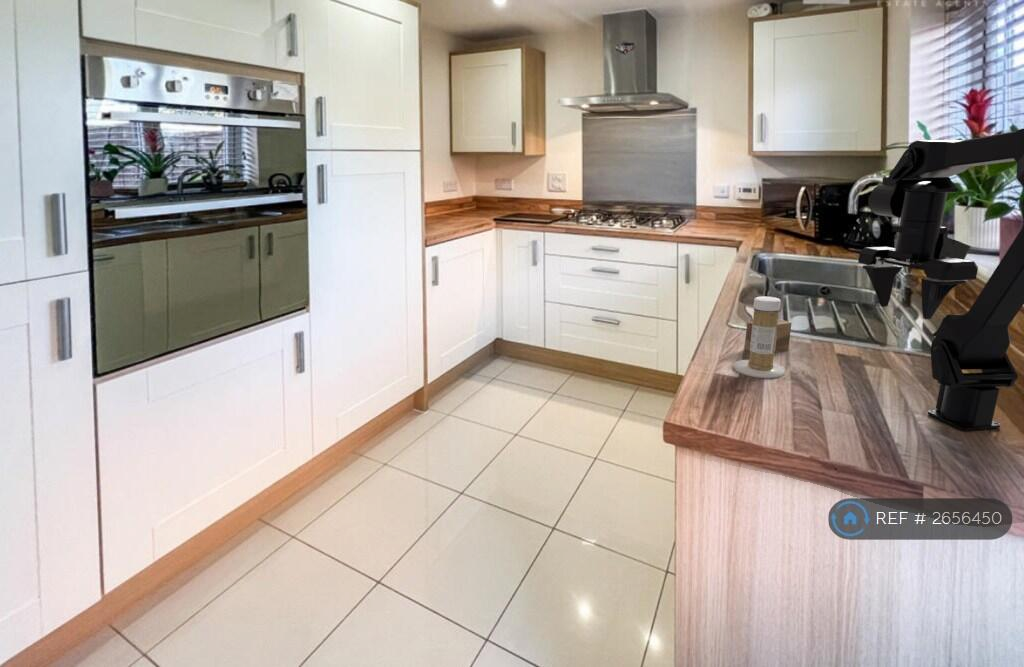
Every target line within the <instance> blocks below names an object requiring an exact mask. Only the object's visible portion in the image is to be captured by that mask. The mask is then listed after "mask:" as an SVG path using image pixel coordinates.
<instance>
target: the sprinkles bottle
mask: <svg viewBox="0 0 1024 667" xmlns="http://www.w3.org/2000/svg"><path fill="white" fill-rule="evenodd" d="M781 304H782V301H781V299H780V298H778V297H774V296H763V295H762V296H756V297H755V298H754V299H753V315H752V316H753V318H752V319H753V320H752V322H753V323H752V333H751V342H750V351H749V357H748V360H749V362H748V366H749V367H751V368H753V369H756V370H770V369H773V363H774V359H775V353H776V352H775V346H776V333H777V323H778V319H779V312H780V310H781Z"/></svg>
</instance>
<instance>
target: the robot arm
mask: <svg viewBox="0 0 1024 667" xmlns="http://www.w3.org/2000/svg"><path fill="white" fill-rule="evenodd" d="M1009 162H1016V180H1017V182H1019V184H1020V185H1021V186H1022V188H1023V189H1024V127H1023V128H1020V129H1018V130H1012V131H1007V132H1002V133H1001V132H1000V133H996V134H990V135H986V136H979V137H974V138H969V139H963V140H958V139H950V140H949V139H943V140H942V139H940V140H939V139H937V140H935V139H933V140H932V139H931V140H930V139H929V140H927V139H926V140H923V139H921V140H914V141H912V142H911V143H910V144H909V145H908V148H906V150H904V152H903V153H902V155H901V157H900V159H899V160H898V161H897V163H896V165H895V166H894V167H893V169H892V170H891V171H890V172H889V173H888V174H889V175H888V176H883V177H882V181H881V183H880V184H878V185H876V186H875V187H874V189H873V190H872V192H871V193H870V195H868V201H867V203H868V204H867V205H868V208H869V209H870V211H871V212H872V213H873V214H875V215H878V216H882V217H884V216H885V217H892V218H900V220H899V225H893V226H892V230H891V231H892V233H897V236H896V237H897V238H896V244H895V247H889V246H871V247H869V246H868V247H864V248H863V249H862V250H861V251H860V252H859V254H858V261H857V263H858V264H863V265H862V269H863V270H865V272H866V274H867V276H868V278H869V280H870V282H871V285H872V287H873V288H874V292H875V294H876V297H877V299H878V302H879V305H880V306H881V307H882V308H884V307H888V306H889V302H890V300H891V296H892V292H893V291H892V290H893V287H894V281H895V278H896V276H897V275H898V273H899V272H900V271H901V270H902V269H903V268H904V267H905V268H911V269H916V270H922V271H923V274H924V275H925V278H921V282H920V284H921V286H920V288H921V310H922V312H921V313H922V317H923V319H924V320H930V319H932V318H933V316H934V314H935V313H936V311H938V309H939V307H940V306H941V304H942V303H943V301H944V299H945V298H946V297H947V296H948V294H949V293H950V292H951V291H952V289H954V288H955V287H958V286H959V285H961V284H962V285H964V284H966V283H968V281H970V280H972V281H973V280H977V275H978V269H979V266H978V265H977V263H976V261H974V260H968V259H965V258H966V257H967V255H968V253H969V250H970V249H971V246H970V245H969V244H966V243H963V241H958V240H957V239H953V238H951V237H949V235H948V234H949V229H948V226H947V227H946V226H942V225H943V219H944V213H945V208H946V203H947V198H948V194H949V193H950V194H951V193H954V194H955V193H958V192H959V190H960V189H959V187H958V186H957V184H955V183H954V182H953V181H952V180H951V177H953V176H957V175H959V174H961V173H964V172H966V170H968V169H970V168H973V167H976V166H977V167H978V166H985V165H987V166H988V165H993V164H995V165H996V164H1000V163H1002V164H1003V163H1009ZM1020 205H1021V206H1020V207H1021V215H1022V223H1023V224H1022V226H1021V229H1020V230H1019V232H1018V233H1017V235H1016V237H1015V238H1014V239H1013V241H1012V243H1011V244H1010V245H1009V248H1008V249H1007V251H1006V252H1005V253H1004V255H1003V257H1002V258H1001V260H1000V261H999V263H998V265H997V266H996V268H995V269H994V271H993V272H992V274H991V276H989V278H988V280H987V282H986V283H985V284H984V286H983V288H982V289H981V290H980V292H979V294H978V296H977V297H976V299H975V300H974V302H973V304H972V305H971V307H970V308H969V309H968V310H967V312H965V313H963V314H962V313H961V314H959V313H958V314H956V313H955V314H954V313H953V314H951V313H950V314H946V315H945V316H944V318H942V321H941V323H940V325H939V327H938V329H937V330H936V331H934V332H933V333H932V336H933V337H934V338H933V339H932V342H931V345H930V363H931V374H932V376H931V377H932V379H934V380H936V381H937V383H938V384H940V385H939V390H938V395H937V400H936V404H935V409H933V410H932V409H931V410H928V411H927V415H929V416H931V417H933V418H936V419H937V420H940V421H942V422H944V423H946V424H949V426H952V427H954V428H956V429H959V430H961V431H963V432H965V431H967V432H968V431H977V430H979V431H980V430H987V429H990V430H991V429H999V428H1001V423H1000V422H999V423H998V422H997V421H994V415H995V410H996V407H997V402H998V398H999V394H1000V390H1001V389H1000V388H1004V387H1005V388H1011V387H1013V385H1014V383H1015V382H1016V380H1017V379H1018V374H1017V372H1016V369H1015V368H1014V365H1013V364H1012V362H1011V360H1010V358H1009V355H1008V354H1007V351H1008V348H1009V347H1010V345H1011V337H1010V331H1009V330H1010V329H1009V326H1010V324H1011V323H1012V321H1013V320H1014V319H1015V317H1016V316H1017V314H1018V313H1019V312H1020V311H1021V309H1022V308H1023V306H1024V198H1023V199H1022V202H1021V204H1020ZM963 370H964V371H969V370H970V371H971V370H981V372H963Z"/></svg>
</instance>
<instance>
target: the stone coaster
mask: <svg viewBox="0 0 1024 667" xmlns="http://www.w3.org/2000/svg"><path fill="white" fill-rule="evenodd" d="M748 362H749V359H742V360H738V361H737V360H736V362H734V364H733V370H734V371H735V372H736V373H739V374H741V375H744V376H747V377H751V378H759V379H775V378H780V377H783V376H784V375H785V372H786V369H785V367H784V366H782V365H780V364H778V363H776V362H773V369H770V370H756V369H753V368H751V367H749V366H748Z"/></svg>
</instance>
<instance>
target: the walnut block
mask: <svg viewBox="0 0 1024 667" xmlns="http://www.w3.org/2000/svg"><path fill="white" fill-rule="evenodd" d="M752 323H753V321H748V322H747V323H746V329H745V330H746V332H745V338H744V339H745V342H744V349H746V350H745V351H747V350H749V351H748V352H750V342H751V333H752ZM791 330H792V322H789V321H787V320H783V319H780V318H778V323H777V333H776V346H775V352H774V353H777V352H776V351H780V352H785V351H784V350H786V351H789V346H790V339H791Z"/></svg>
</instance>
